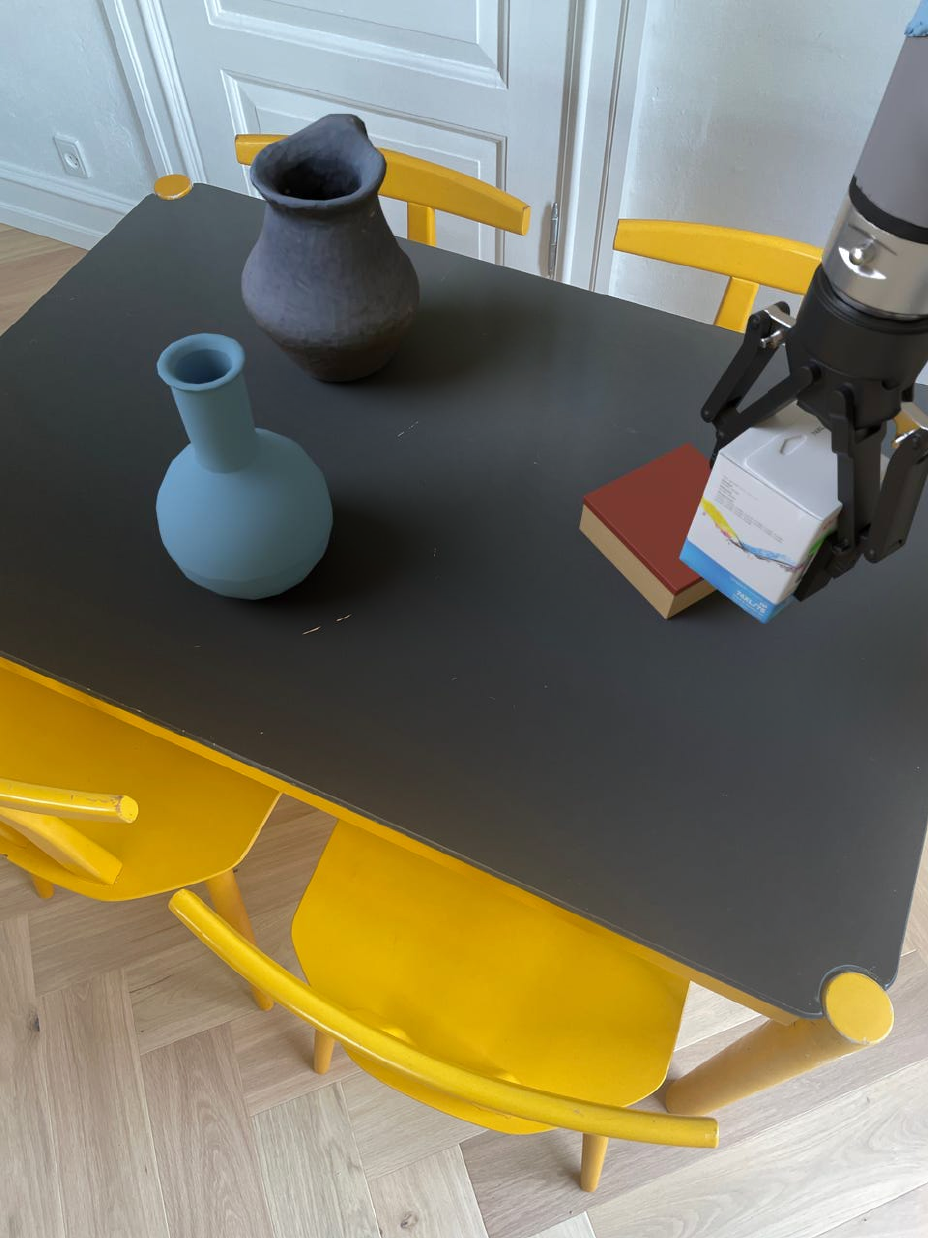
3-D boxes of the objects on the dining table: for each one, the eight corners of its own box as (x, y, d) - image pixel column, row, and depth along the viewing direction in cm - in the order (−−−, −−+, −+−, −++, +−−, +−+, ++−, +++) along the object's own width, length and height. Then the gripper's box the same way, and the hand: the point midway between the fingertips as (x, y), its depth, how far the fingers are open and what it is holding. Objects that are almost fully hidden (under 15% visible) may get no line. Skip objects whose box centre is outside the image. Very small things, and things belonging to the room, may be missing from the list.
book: (769, 559, 89) (785, 527, 85) (665, 621, 84) (676, 590, 80) (678, 475, 96) (688, 442, 91) (577, 528, 91) (583, 496, 87)
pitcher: (232, 395, 102) (176, 191, 82) (294, 288, 114) (259, 86, 94) (397, 424, 100) (383, 221, 79) (444, 311, 112) (441, 109, 91)
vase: (364, 518, 92) (338, 318, 71) (301, 641, 83) (250, 454, 62) (223, 482, 94) (159, 280, 74) (148, 598, 85) (51, 405, 65)
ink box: (764, 628, 63) (822, 523, 53) (675, 558, 66) (714, 449, 56) (833, 567, 66) (899, 458, 56) (745, 503, 69) (792, 391, 60)
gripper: (697, 205, 49) (630, 477, 68) (1018, 428, 39) (836, 675, 58) (790, 168, 52) (700, 440, 70) (1114, 369, 42) (910, 624, 60)
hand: (761, 546), depth 64 cm, fingers closed on ink box, 9 cm apart
